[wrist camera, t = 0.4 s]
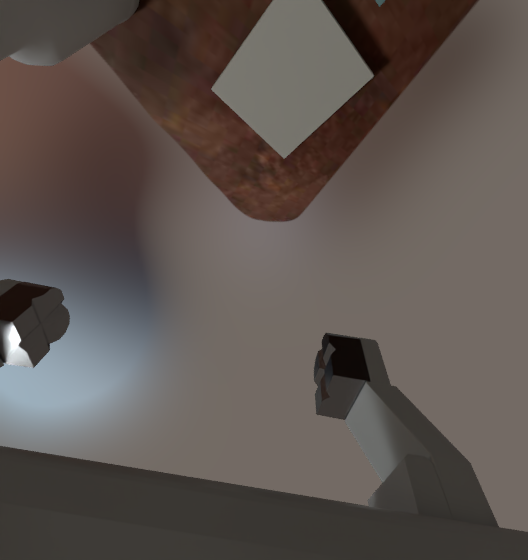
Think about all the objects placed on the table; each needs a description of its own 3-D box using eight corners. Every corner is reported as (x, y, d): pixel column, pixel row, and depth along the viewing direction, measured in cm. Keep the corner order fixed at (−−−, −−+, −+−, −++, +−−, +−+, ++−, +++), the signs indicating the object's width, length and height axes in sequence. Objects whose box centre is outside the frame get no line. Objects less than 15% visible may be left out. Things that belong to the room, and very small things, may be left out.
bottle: (113, -80, 36) (-100, -52, 17) (153, 4, 41) (24, 92, 23) (65, -47, 38) (-165, 7, 20) (108, 28, 44) (-39, 123, 26)
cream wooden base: (298, -38, 37) (297, -35, 35) (371, 68, 44) (373, 76, 43) (215, 81, 48) (211, 89, 46) (285, 150, 56) (284, 158, 54)
